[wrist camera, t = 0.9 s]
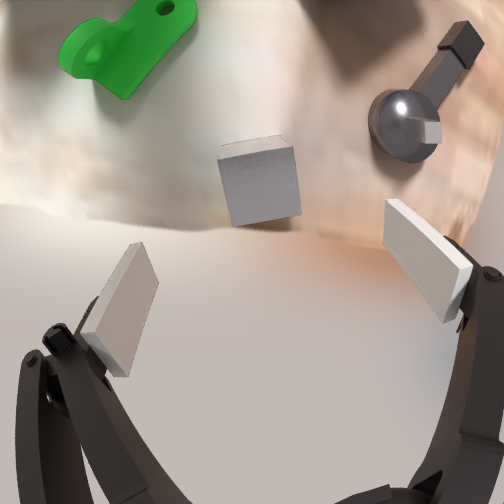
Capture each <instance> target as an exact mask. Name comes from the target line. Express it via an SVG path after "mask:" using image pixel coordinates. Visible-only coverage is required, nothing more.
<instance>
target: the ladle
mask: <svg viewBox="0 0 504 504" xmlns="http://www.w3.org/2000/svg"><path fill="white" fill-rule="evenodd" d="M484 44H485V43H484V42H483V40H482V39H481V37H480V36H479V35H478V33H477V32H476V30H475V29H474V28H473V26H472V25H471V24H470V22H469V21H461V22H455V23H454V24H453V26H452V27H451V28H450V30H449V31H448V33H447V34H446V35H445V37H444V38H443V39H442V41H441V42H440V43H439V45H438V48H439V50H438V52H437V53H436V54H435V56H434V57H433V58H432V60H431V61H430V62H429V64H428V65H427V66H426V68H425V69H424V71H423V72H422V73H421V75H420V76H419V77H418V79H417V80H416V81H415V83H414V84H413V85H412V86H411V88H410V89H409V90H402V89H391V90H387V91H384V92H382V93H381V94H380V95H378V96H377V97H376V98H375V100H374V101H373V103H372V105H371V107H370V110H369V115H368V125H369V130H370V134H371V136H372V138H373V140H374V142H375V143H376V145H377V146H378V147H379V148H380V149H381V150H382V151H384V152H385V153H387V154H389V155H392V156H394V157H396V158H398V159H400V160H402V161H404V162H408V163H417V162H420V161H423V160H425V159H426V158H428V157H429V156H430V155H431V154H432V153H433V152H434V150H435V149H436V147H437V145H438V143H442V130H441V122H440V118H439V115H438V112H437V110H436V108H437V107H438V105H439V104H440V103H441V101H442V100H443V98H444V97H445V95H446V94H447V93H448V91H449V90H450V88H451V87H452V85H453V84H454V82H455V81H456V79H457V78H458V76H459V75H460V73H461V72H462V70H463V69H470V67H471V65H472V64H473V62H474V61H475V59H476V57H477V56H478V54H479V53H480V51H481V49H482V48H483V46H484Z"/></svg>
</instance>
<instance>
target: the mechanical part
mask: <svg viewBox="0 0 504 504" xmlns="http://www.w3.org/2000/svg"><path fill="white" fill-rule="evenodd" d="M169 5H173V6H175V7H174V10H173V11H172V12H171V13H169V14H168V15H163V16H162V15H160V13H161V11H162V9H163V8H165V7H166V6H169ZM196 17H197V6H196V3H195V1H194V0H138V1H137V2H136V3H135V4H134V5H133V6H132V8H131V9H130V10H129V11H128V12H127V13H126V14H125V15H124V16H123V17H122V18H121V19H120V20H119V21H117V22H115V23H110V22H108V21H106V20H104V19H102V18H92V19H89V20H87V21H85V22H84V23H82V24H81V25H79V26H78V27H77V28H76V29H75V30H74V31H73V32H72V33H71V34H70V35H69V36H68V37H67V39H66V40H65V41H64V43H63V45H62V47H61V49H60V52H59V55H58V65H59V67H60V68H62V69H63V70H64V71H66V72H67V73H69V74H70V75H71V76H73V77H74V78H76V79H95V80H96V81H98V82H99V83H100V84H102V85H103V86H104V87H106V88H107V89H108V90H110V91H111V92H113V93H114V94H115V95H117V96H118V97H119V98H121V99H129V98H130V96H131V95H132V94H133V92H134V91H135V90H136V88H137V87H138V86H139V85H140V83H141V82H142V81H143V80H144V78H145V77H146V76H147V75H148V73H149V72H150V71H151V70H152V69H153V67H154V66H155V65H156V64H157V63H158V62H159V60H160V59H161V58H162V57H163V56H164V55H165V54H166V53H167V51H168V50H169V49H170V48H171V47H172V46H173V45H174V44H175V43H176V42H177V41H178V40H179V39H180V38H181V37H182V36H183V35H184V34H185V33H186V32H187V31H188V30H189V29H190V27H191V26H192V25H193V23H194V22H195V19H196Z"/></svg>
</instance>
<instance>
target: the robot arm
mask: <svg viewBox="0 0 504 504" xmlns="http://www.w3.org/2000/svg"><path fill="white" fill-rule="evenodd" d="M383 245H384V246H385V247H386V249H387V250H388V251H389V252H390V253H391V255H392V256H393V257H394V258H395V260H396V261H397V262H398V263H399V265H400V266H401V267H402V269H403V270H404V271H405V272H406V274H407V275H408V276H409V278H410V279H411V280H412V282H413V283H414V284H415V286H416V287H417V288H418V290H419V291H420V292H421V294H422V295H423V297H424V298H425V299H426V301H427V302H428V304H429V305H430V306H431V308H432V309H433V311H434V312H435V313H436V315H437V317H438V318H439V320H440V321H441V322H442V323H446V322H448V321H451V320H453V319H455V318H456V316H457V313H458V311H459V308H460V309H461V310H462V312H463V313H464V314H463V317H462V320H461V322H460V324H459V326H458V329H457V331H456V332H457V333H458V332H459V330H460V333H459V340H458V346H457V352H456V357H455V362H454V367H453V371H452V376H451V380H450V384H449V388H448V392H447V396H446V399H445V403H444V406H443V409H442V413H441V416H440V419H439V422H438V425H437V428H436V431H435V434H434V436H433V439H432V442H431V444H430V447H429V449H428V452H427V454H426V457H425V459H424V461H423V463H422V464H421V466H420V467H419V468H418V470H417V471H416V473H415V474H414V476H413V478H412V480H411V481H410V483H409V485H408V487H407V488H390V486H389V484H387V485H384V486H381V487H378V488H375V489H372V490H369V491H366V492H362V493H358V494H355V495H352V496H350V497H348V498H346V499H344V500H341V501H339V502H337V503H335V504H488V503H489V500H490V498H491V495H492V492H493V489H494V486H495V483H496V480H497V477H498V474H499V471H500V467H501V464H502V459H503V456H504V444H503V443H502V442H500V441H499V432H500V427H501V422H502V417H503V410H504V276H503V275H502V273H501V272H500V271H498V270H497V269H495V268H493V267H489V266H484V267H481V266H480V265H479V264H478V263H477V262H476V261H475V260H474V259H473V258H472V257H471V256H470V255H469V254H468V253H467V252H465V250H464V249H463V248H462V247H460V246H459V245H458V244H457V243H456V242H455V241H454V240H452V239H450V238H448V237H446V236H442V235H441V234H440V233H439V232H437V231H436V230H435V229H434V228H433V227H432V226H430V225H429V224H428V223H427V222H426V221H425V220H423V219H422V218H421V217H420V216H419V215H417V214H416V213H415V212H414V211H412V210H411V209H410V208H409V207H407V206H406V205H405V204H404V203H402V202H401V201H400V200H399V199H397V198H395V199H387V200H385V217H384V236H383ZM158 284H159V282H158V280H157V277H156V275H155V273H154V270H153V268H152V265H151V263H150V260H149V258H148V255H147V253H146V250H145V248H144V246H143V243H142V242H139V243H135V244H130V246H129V247H128V249H127V250H126V252H125V253H124V255H123V257H122V258H121V260H120V262H119V263H118V265H117V267H116V268H115V270H114V271H113V273H112V275H111V276H110V278H109V280H108V282H107V283H106V285H105V287H104V289H103V290H102V292H101V294H100V296H97V297H96V298H95V299H94V300H93V301H92V302H91V304H90V305H89V307H88V309H87V311H86V313H85V314H84V316H83V319H82V320H81V322H80V324H79V325H78V327H77V329H76V331H75V333H74V335H72V333H71V332H70V330H69V329H68V328H67V326H66V325H65V324H63V323H58V324H56V325H54V326H52V327H51V328H50V329H48V331H47V332H46V333H45V334H44V336H43V340H42V342H43V344H44V345H45V346H46V348H47V349H48V350H49V351H50V353H51V354H52V355H49V356H46V357H44V355H43V354H42V353H41V352H40V350H32V351H31V352H29V353H27V354H26V356H25V357H24V359H23V361H22V364H21V370H20V378H19V385H18V395H17V406H16V428H15V446H16V447H15V450H16V471H17V482H18V489H19V498H20V504H94V502H93V499H92V496H91V492H90V488H89V484H88V480H87V475H86V471H85V466H84V461H83V456H82V451H81V446H82V448H83V451H84V453H85V455H86V458H87V460H88V462H89V464H90V467H91V468H92V471H93V473H94V475H95V477H96V479H97V481H98V483H99V485H100V486H101V488H102V490H103V492H104V494H105V496H106V498H107V499H108V501H109V503H110V504H192V503H191V502H190V501H189V500H188V499H187V498H186V497H185V496H184V494H183V493H182V492H181V491H180V490H179V488H178V487H177V486H176V485H175V484H174V482H173V481H172V480H171V479H170V477H169V476H168V475H167V474H166V472H165V471H164V469H163V468H162V467H161V465H160V464H159V463H158V461H157V460H156V458H155V457H154V456H153V454H152V453H151V451H150V450H149V448H148V447H147V445H146V444H145V442H144V441H143V439H142V438H141V436H140V435H139V433H138V432H137V430H136V429H135V427H134V425H133V423H132V422H131V420H130V418H129V417H128V415H127V413H126V411H125V410H124V408H123V406H122V404H121V403H120V401H119V399H118V397H117V395H116V394H115V392H114V390H113V388H112V386H111V384H110V382H109V380H108V379H107V378H106V377H105V373H106V370H107V369H108V370H109V372H110V373H111V374H112V375H113V376H114V377H129V373H130V370H131V366H132V363H133V360H134V356H135V353H136V350H137V346H138V343H139V340H140V337H141V333H142V330H143V328H144V325H145V321H146V318H147V315H148V313H149V310H150V307H151V304H152V301H153V298H154V295H155V292H156V289H157V287H158ZM47 396H48V397H49V401H48V399H47ZM503 504H504V503H503Z"/></svg>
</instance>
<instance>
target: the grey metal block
mask: <svg viewBox="0 0 504 504" xmlns="http://www.w3.org/2000/svg"><path fill="white" fill-rule="evenodd" d="M217 161H218V165H219V170H220V174H221V178H222V183H223V187H224V191H225V196H226V200H227V204H228V208H229V213H230V217H231V221H232V225H233V227H236V226H242V225H247V224H252V223H258V222H263V221H269V220H275V219H280V218H286V217H292V216H297V215H302V211H301V203H300V194H299V187H298V179H297V171H296V164H295V157H294V150H293V146H292V145H291V144H290V143H289V142H287V141H286V140H285V139H284V138H283V137H282V136H281V135H276V136H269V137H263V138H257V139H252V140H246V141H241V142H236V143H231V144H226V145H223V146H222V148H221V151H220V154H219V156H218V159H217Z"/></svg>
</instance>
